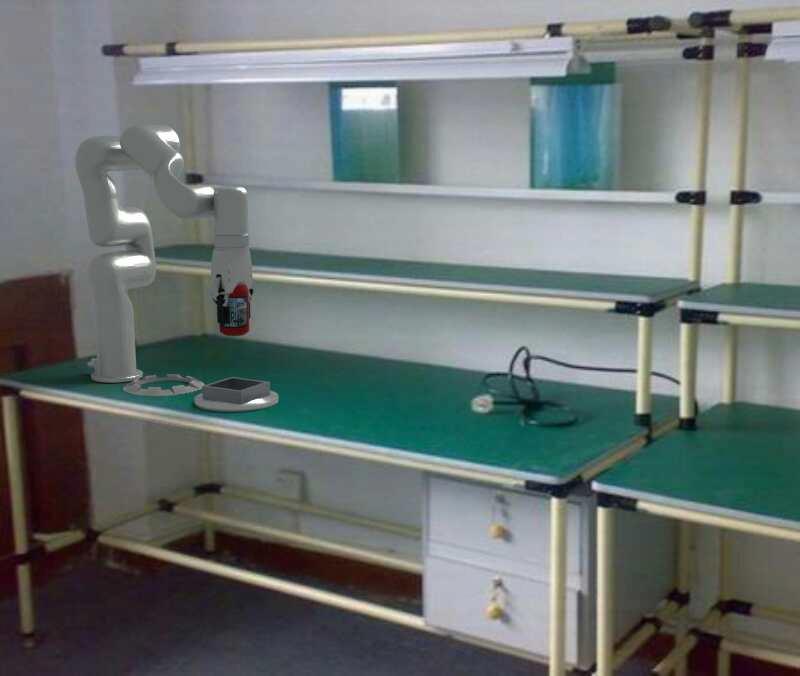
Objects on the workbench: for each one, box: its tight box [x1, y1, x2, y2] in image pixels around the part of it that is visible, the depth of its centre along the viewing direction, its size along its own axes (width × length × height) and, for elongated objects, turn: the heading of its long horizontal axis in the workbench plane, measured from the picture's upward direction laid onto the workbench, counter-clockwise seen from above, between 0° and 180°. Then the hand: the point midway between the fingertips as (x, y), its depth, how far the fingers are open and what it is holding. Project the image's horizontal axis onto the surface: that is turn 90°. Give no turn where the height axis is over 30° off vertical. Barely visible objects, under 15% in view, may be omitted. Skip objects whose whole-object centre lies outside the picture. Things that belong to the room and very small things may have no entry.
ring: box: [122, 374, 206, 397], centre depth 276 cm, size 19×19×2 cm
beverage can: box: [218, 282, 250, 337], centre depth 256 cm, size 7×7×12 cm
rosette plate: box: [194, 376, 279, 413], centre depth 260 cm, size 19×19×4 cm
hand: (234, 320), depth 257 cm, fingers closed on beverage can, 6 cm apart
